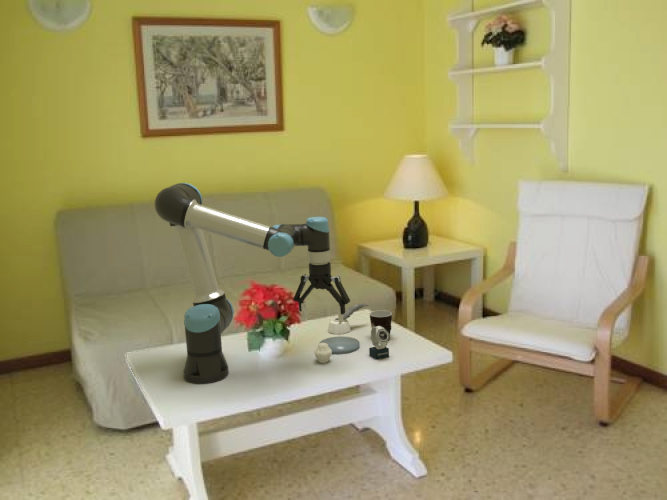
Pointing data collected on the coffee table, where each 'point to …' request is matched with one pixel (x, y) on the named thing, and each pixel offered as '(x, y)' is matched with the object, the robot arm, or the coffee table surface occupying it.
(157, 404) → the coffee table surface
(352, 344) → the plate
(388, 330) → the coffee mug
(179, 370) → the coffee table surface
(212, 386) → the coffee table surface
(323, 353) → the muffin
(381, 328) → the watch
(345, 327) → the inkwell
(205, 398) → the coffee table surface
